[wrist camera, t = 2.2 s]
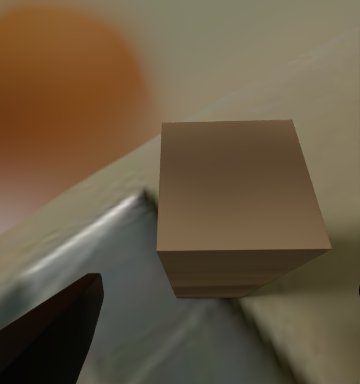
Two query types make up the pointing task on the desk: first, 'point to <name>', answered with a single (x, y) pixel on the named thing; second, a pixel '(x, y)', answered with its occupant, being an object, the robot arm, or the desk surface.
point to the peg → (234, 207)
